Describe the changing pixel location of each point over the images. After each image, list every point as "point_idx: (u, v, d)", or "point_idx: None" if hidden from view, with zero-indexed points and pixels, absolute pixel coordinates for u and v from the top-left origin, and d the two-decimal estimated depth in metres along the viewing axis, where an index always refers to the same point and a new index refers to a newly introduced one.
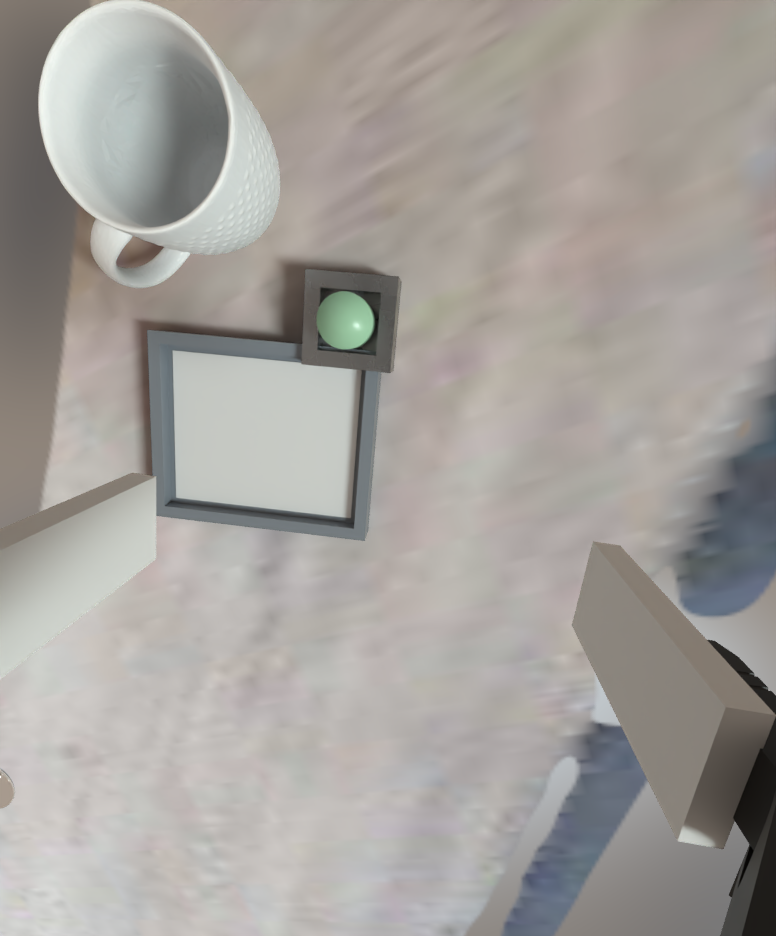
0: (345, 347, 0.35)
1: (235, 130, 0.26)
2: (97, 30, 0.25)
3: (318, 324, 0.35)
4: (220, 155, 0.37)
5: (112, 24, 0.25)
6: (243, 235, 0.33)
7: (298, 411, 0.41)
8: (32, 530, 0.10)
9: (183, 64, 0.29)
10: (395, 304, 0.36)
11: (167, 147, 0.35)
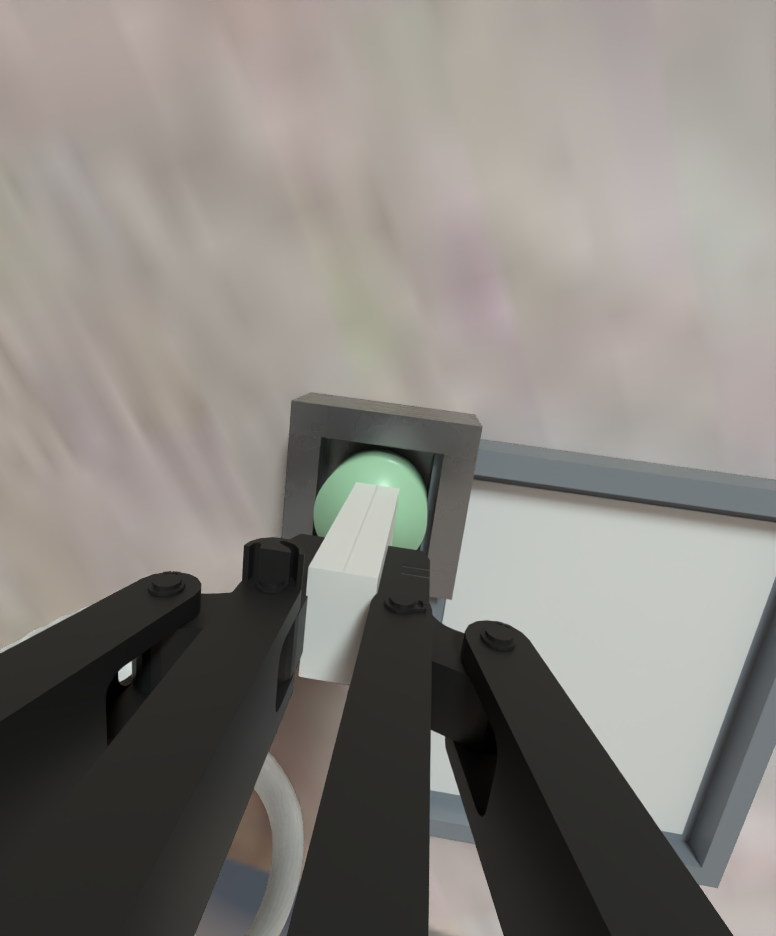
0: (423, 519, 0.17)
1: None
2: None
3: None
4: None
5: None
6: None
7: (540, 604, 0.21)
8: (352, 533, 0.12)
9: None
10: (344, 409, 0.18)
11: None
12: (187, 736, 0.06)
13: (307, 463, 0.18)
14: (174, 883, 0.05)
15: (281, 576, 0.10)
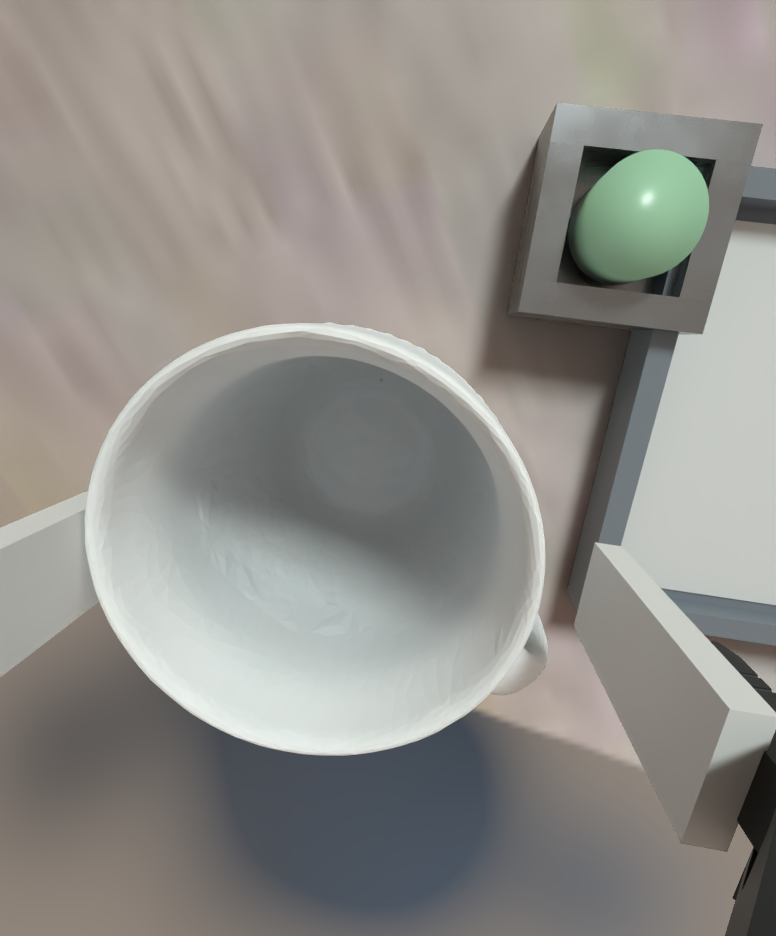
0: (704, 214, 0.16)
1: (331, 327, 0.10)
2: (144, 608, 0.13)
3: (645, 273, 0.17)
4: (318, 455, 0.23)
5: (134, 578, 0.13)
6: None
7: (772, 361, 0.20)
8: (29, 530, 0.10)
9: (197, 469, 0.16)
10: (612, 111, 0.17)
11: (310, 533, 0.22)
12: None
13: (565, 178, 0.18)
14: None
15: None
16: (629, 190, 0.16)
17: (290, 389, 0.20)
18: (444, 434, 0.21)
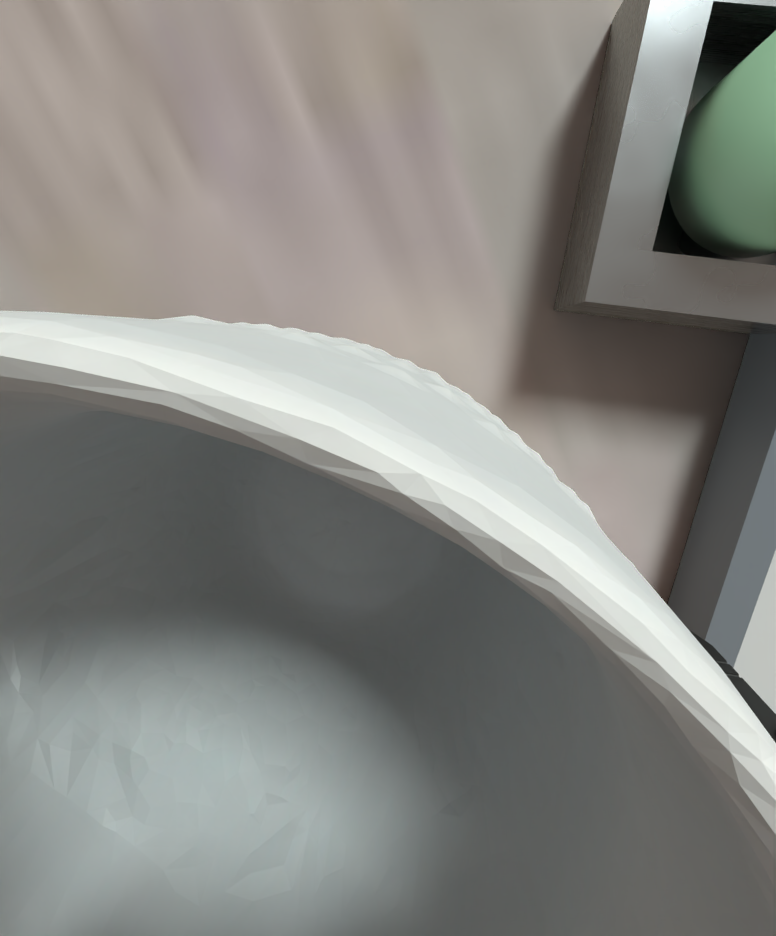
0: None
1: (78, 327, 0.02)
2: None
3: None
4: (274, 522, 0.15)
5: None
6: None
7: None
8: None
9: (1, 600, 0.08)
10: None
11: (257, 647, 0.14)
12: None
13: (676, 63, 0.10)
14: None
15: None
16: None
17: None
18: None
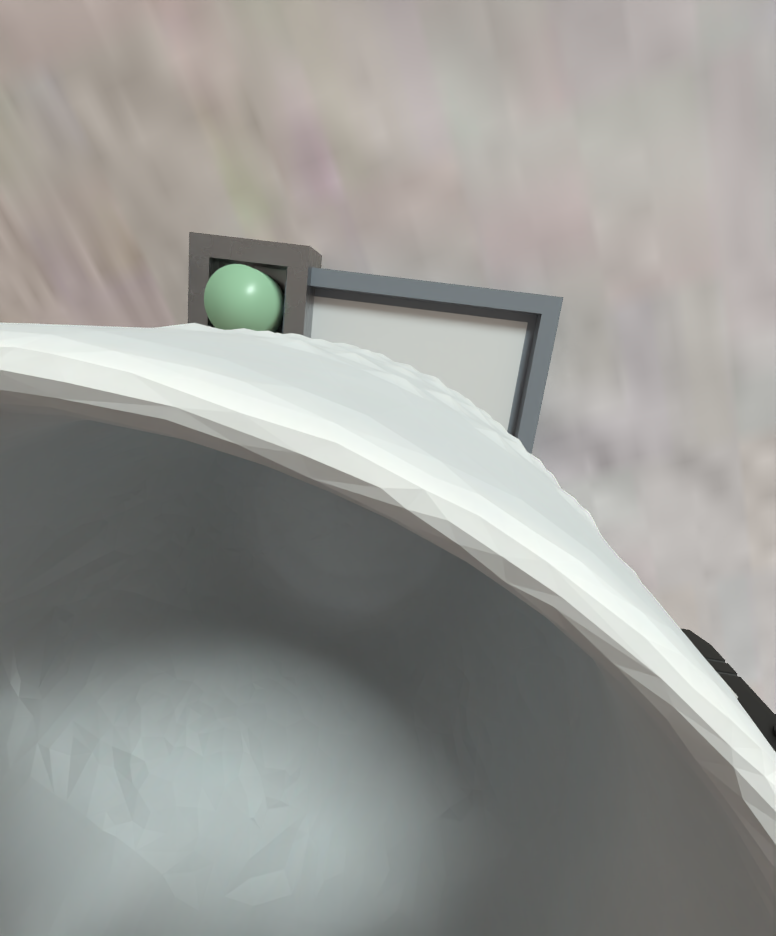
0: (271, 301, 0.27)
1: (79, 341, 0.02)
2: None
3: None
4: (275, 525, 0.15)
5: None
6: None
7: None
8: None
9: (1, 606, 0.08)
10: (223, 237, 0.28)
11: (257, 649, 0.14)
12: None
13: (201, 276, 0.28)
14: None
15: None
16: (225, 287, 0.27)
17: None
18: None
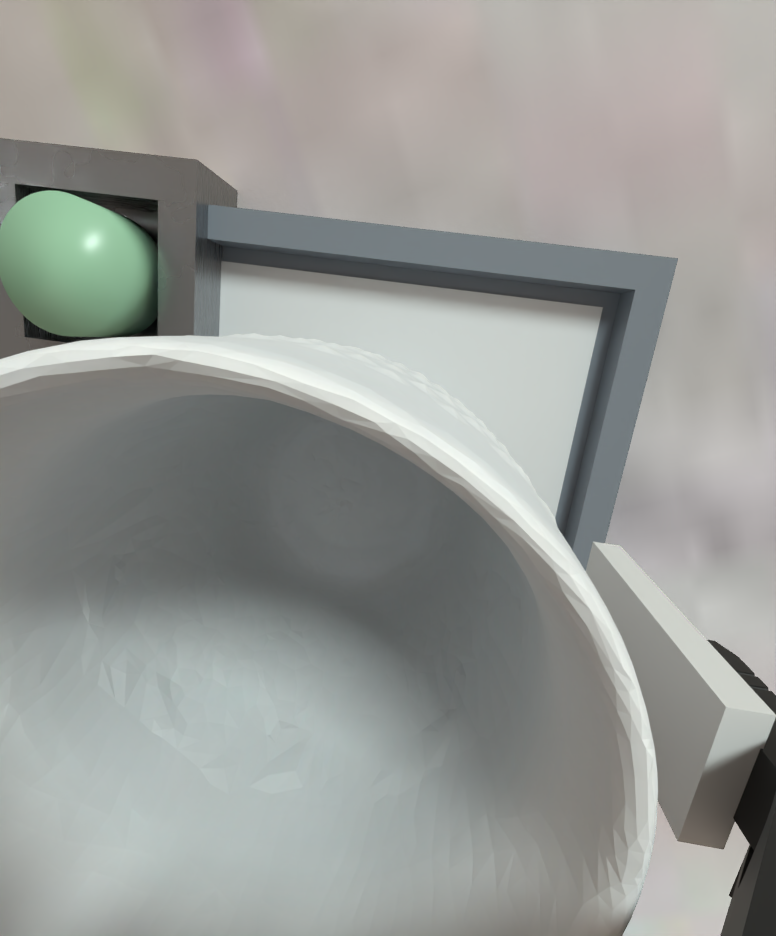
0: (121, 264, 0.14)
1: (220, 347, 0.05)
2: None
3: (76, 331, 0.15)
4: (285, 502, 0.17)
5: None
6: None
7: None
8: None
9: (78, 548, 0.10)
10: (37, 145, 0.15)
11: (270, 607, 0.17)
12: None
13: None
14: None
15: None
16: (34, 237, 0.14)
17: (243, 419, 0.15)
18: None
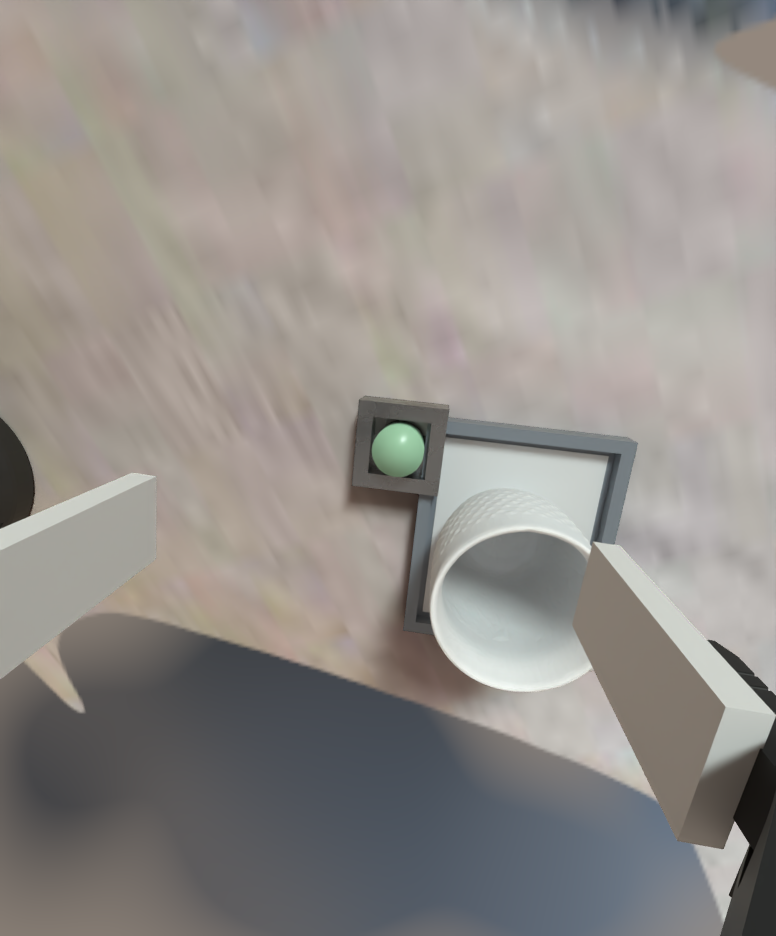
0: (422, 451, 0.37)
1: (539, 526, 0.27)
2: (442, 628, 0.30)
3: (400, 475, 0.38)
4: None
5: (439, 615, 0.30)
6: None
7: None
8: (32, 530, 0.10)
9: None
10: (383, 403, 0.38)
11: (470, 583, 0.39)
12: None
13: (366, 429, 0.38)
14: None
15: None
16: (388, 441, 0.37)
17: None
18: None
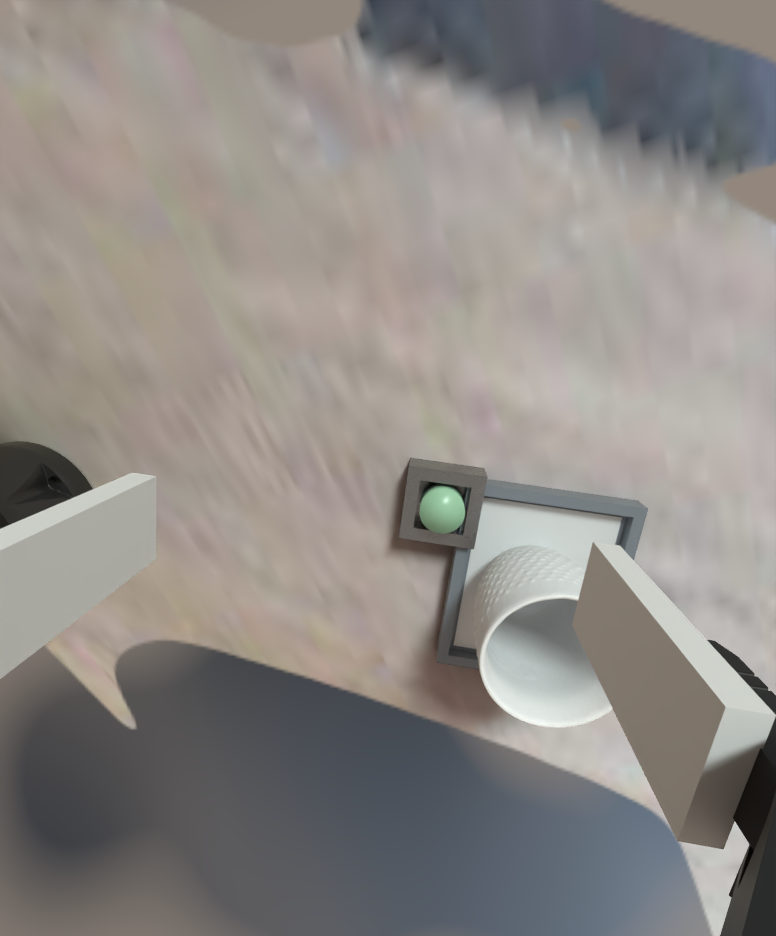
0: (463, 512, 0.43)
1: (574, 594, 0.33)
2: (488, 673, 0.36)
3: (443, 532, 0.43)
4: None
5: (486, 663, 0.36)
6: None
7: None
8: (32, 530, 0.10)
9: None
10: (430, 469, 0.43)
11: (500, 625, 0.45)
12: None
13: (414, 491, 0.44)
14: None
15: None
16: (434, 503, 0.43)
17: None
18: None
